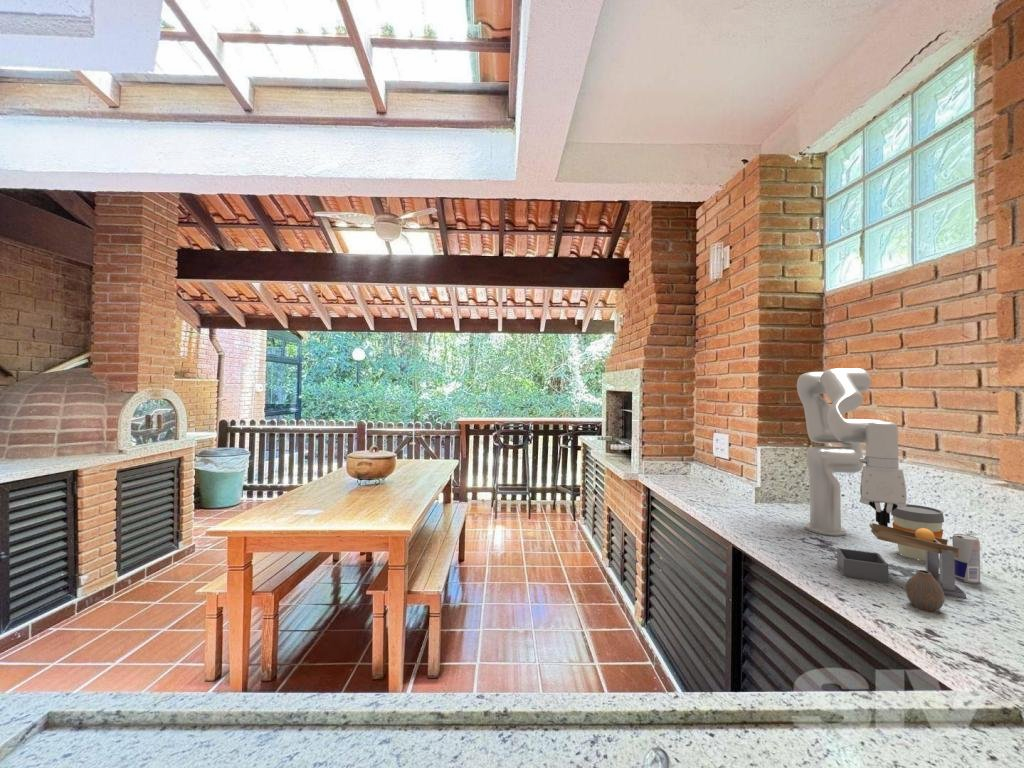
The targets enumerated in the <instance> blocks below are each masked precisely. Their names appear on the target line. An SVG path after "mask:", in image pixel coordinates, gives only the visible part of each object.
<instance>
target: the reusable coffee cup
mask: <svg viewBox="0 0 1024 768" xmlns="http://www.w3.org/2000/svg"><path fill="white" fill-rule="evenodd" d="M890 516H892V519H893V520H892V523H891V524H892V528H896V529H901V530H906V531H910V532H916V530H918V529H920V528H926V529H928V530H930V531H932V532H933V534H934V536H935V537H937V538H942V539H943V532H944V530H943V529H942V528H943V523H945V519H944V511H942V510H941V509H938V508H934V507H929V506H925V505H917V504H910V503H909V504H908V503H906V507H901V508H896V509H894V510H893V511H892V512H891V513H890ZM897 550H898V553H900V554H899V555H901V554H902V555H904V556H903V557H905V556H907V557H906V558H908V557H910V558H909V559H911V558H914V559H913V560H915V559H919V560H918V561H921V560H925V550H922V549H918V548H913V547H909V546H905V545H901V544H897ZM902 555H901V556H902Z"/></svg>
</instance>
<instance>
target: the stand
mask: <svg viewBox="0 0 1024 768" xmlns="http://www.w3.org/2000/svg"><path fill="white" fill-rule="evenodd" d="M924 562H925V571H929V572H930V573H931V574H932V576H933V577H934V579H935V580H936V581H937V582H938V583H939V584H940V586H941V587H942V589H943V592H944V596H948V597H949V596H950V597H954V598H955V597H956V598H963V599H967V594H966V593H965V592H964V591H963V590H962V589H961V588H960V587H958V585H956V579H955V560H954V552H953V551H951V550H943V549H940V554H939V553H935V552H931V551H926V550H925V561H924ZM918 570H919V569H918ZM918 570H917V569H916V570H915V574H916V573H917V571H918Z"/></svg>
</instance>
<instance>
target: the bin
mask: <svg viewBox="0 0 1024 768" xmlns="http://www.w3.org/2000/svg"><path fill="white" fill-rule="evenodd" d="M837 564H838V565H837ZM836 565H837V567H838V566H839V567H838V568H840V569H839V570H841V571H840V573H841V575H842V576H843V577H844V576H847V577H846V578H849V577H852V578H851V579H856V578H857V580H862V579H863V581H870V582H876V583H883V584H889V564H888V563H887V562H886V560H885V559H884V558H883V557H882V556H881V555H880V553H878V552H870V551H863V550H855V549H848V548H841V547H836Z"/></svg>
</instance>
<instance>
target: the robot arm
mask: <svg viewBox="0 0 1024 768" xmlns="http://www.w3.org/2000/svg"><path fill="white" fill-rule="evenodd" d="M871 380H872V379H871V376H870V374H869V373H868V372H867V371H866V369H863V368H860V367H858V368H857V367H855V368H854V367H853V368H849V367H848V368H846V367H845V368H844V367H842V368H841V367H839V368H838V367H837V368H829V369H826V370H825V371H809V372H805V373H802V374H800V375H799V377H798V378H797V382H796V389H797V394H798V395H797V396H798V397H799V399H800V402H801V404H802V406H803V409H804V418H805V423H806V424H805V425H806V431H807V435H808V439H809V440H810V441H811V442H814V443H818V444H839V445H840V446H831V445H826V446H823V445H820V446H819V445H818V446H814V447H810V448H809V449H808V450H807V451H806V457H805V458H806V464H807V469H808V475H809V476H808V479H809V522H808V523H805V527H804V528H805V530H807V531H809V532H813V533H815V534H819V535H823V536H824V535H825V536H834V537H835V536H836V537H838V536H839V537H840V536H845V535H846V534H847V530H846V528H843V527H842V516H841V515H842V513H841V512H842V510H841V506H842V504H841V502H842V500H841V494H842V493H841V485H840V482H839V480H838V478H836V477H835V476H834V473H842V474H843V473H847V474H848V473H849V474H852V473H853V474H854V473H859V472H860V471H861V476H860V487H859V489H860V491H859V492H860V493H859V494H860V498H859V503H861V504H864V505H867V506H869V507H870V506H871V508H872V509H873V510H874V511H875V522H877V523H878V525H883V526H887V527H889V524H890V523H891V518H890V517H891V512H892V511H893V510H894V509H896V508H901V507H906V504H907V503H906V502H907V500H908V499H907V488H906V480H905V475H904V471H903V469H901V468H900V466H899V465H900V464H899V463H900V462H899V428H898V425H897V424H896V423H895V422H891V421H884V420H882V419H875V418H874V419H873V418H872V419H870V418H869V419H868V418H867V419H866V418H844V417H843V415H844V414H847V413H849V412H852V411H854V410H856V409H857V408H860V406H862V403H863V402H864V397H863V395H862V393H863V392H866V391H867V390H869V388H870V387H871V384H872V383H871V382H872V381H871ZM821 394H822V395H823V394H824V395H825V394H826V395H827V397H828V398H829V401H831V405H830V403H828V401H827V400H826V399H825V398H824V397H823V396H821ZM862 444H865V456H864V454H863V449H862ZM864 464H865V465H864ZM881 503H884V506H883V508H882V506H881Z"/></svg>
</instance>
